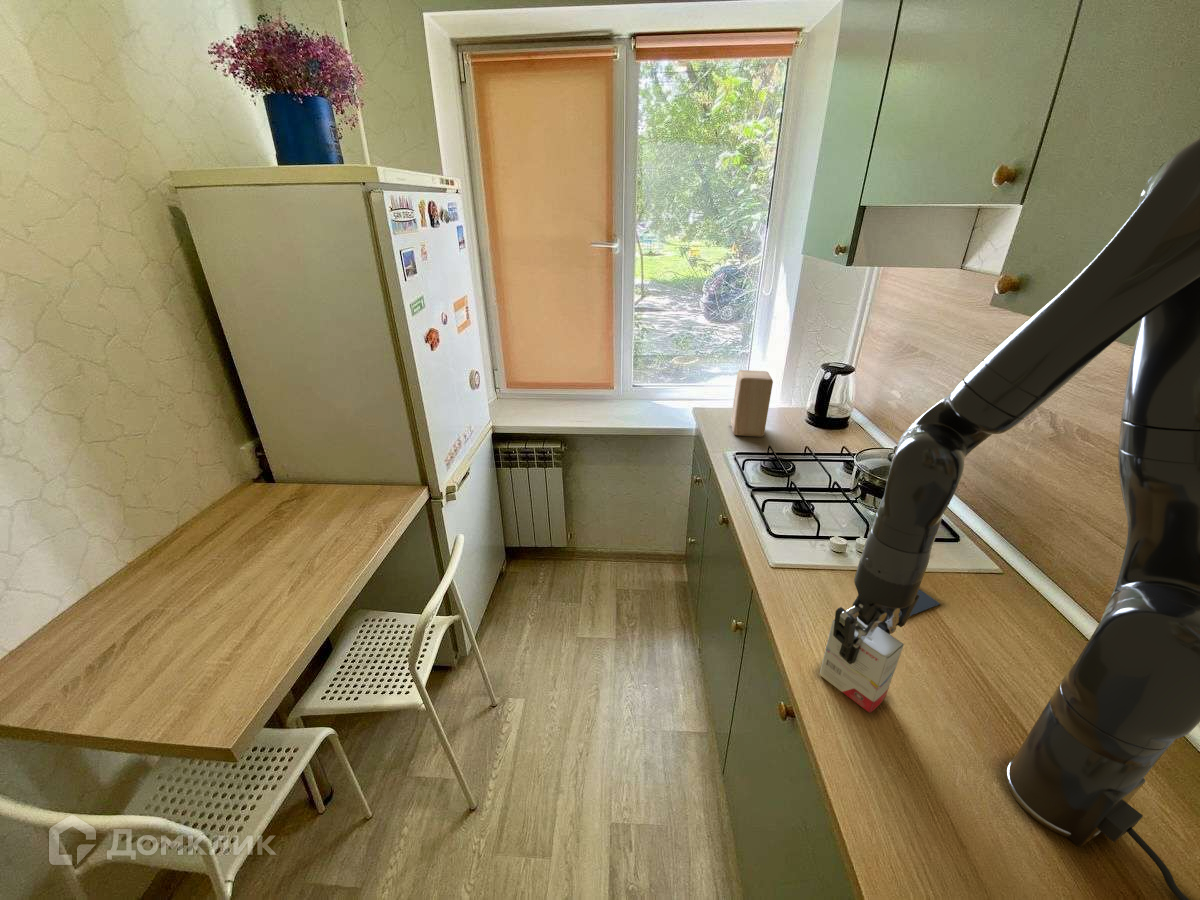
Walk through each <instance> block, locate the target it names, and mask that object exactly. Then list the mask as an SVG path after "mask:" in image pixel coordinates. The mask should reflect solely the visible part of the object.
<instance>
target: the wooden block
mask: <svg viewBox="0 0 1200 900" xmlns="http://www.w3.org/2000/svg"><path fill="white" fill-rule="evenodd" d="M773 383H774V380H773V378H772V376H771V375H770V373H769V371H766V370H751V369H749V370H748V369H740V370H738V371H737V373H736V381H735V388H734V389H735V390H734V397H733V403H732V410H731V411H732V412H731V418H730V424H731V429H732V433H733V435H735V436H743V437H758V438H759V437H760V438H761V437H764V435H765V431H766V425H767V420H768V414H769V409H770V408H769V407H770V403H771V402H770V401H771V396H772V389H773Z"/></svg>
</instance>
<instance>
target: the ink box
mask: <svg viewBox="0 0 1200 900" xmlns="http://www.w3.org/2000/svg"><path fill="white" fill-rule="evenodd" d="M857 620H858V621H859V622H860V623H861V624H862V625H863V626H864V627H866V628H867V625H865V624H864V623H863V622H862V621H861V620H860V619H859V618H858V617H857ZM834 623H835V619H833V620H832V621H831V626H830V629H829V633H828V634H829V635H828V638H827V641H826V646H825V651H824V654H823V658H822V663H821V666H820V670H819V676H820V677H821V678H823V679H824V680H825V681H827V682H828V683H830V684H831V685H832V686H833V687H835V688H836V689H837V690H838V691H840V692H841V693H843V694H844V695H845V696H846V697H847V698H849V699H850V700H852V701H853V702H854V703H855V704H857V705H859V707H861V708H862V709H863V710H864V711H866V712H867V713H872V712H874V711H875V710H876V709H877V708H878V707H879V706H880V705H881V704H882V703H883V701H884V700H885V698H886V697H887V694H888V691H889V688H890V685H891V682H892V680H893V677H894V675H895V671H896V669H897V666H898V663H899V660H900V657H901V654H902V651H903V648H904V645H905V643H904V642H902V641H900V640H899V639H898V638H896V637H894V636H893V635H892V634H888V633H887V632H885V631H884V630H882V629H881V628H879V627H878V626H877V628H876V629H875V631H874V632H873V634H872V635H871V636H866V637H865V639H864V640H863V642H862V643H861V645H860V649H859V652H858V655H857V658H856V661H855V663H852V664H849V663H848V662H846V661H845V660H844V659H843V658H842V657H841V656H840V654H839V652H840V649H841V645H842V643H841V642H839V641H838V640H837V639H836V638H835V637H834V636H833V632H834ZM858 634H859V632H858V631H857V630H856V629H855V633H854V636H855V637H857V636H858Z"/></svg>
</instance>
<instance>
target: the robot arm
mask: <svg viewBox="0 0 1200 900" xmlns="http://www.w3.org/2000/svg"><path fill="white" fill-rule="evenodd" d="M1137 323H1139V326H1138V329H1137V333H1136V337H1135V342H1134V346H1133V349H1132V354H1131V357H1130V362H1129V368H1128V373H1127V377H1126V383H1125V388H1124V389H1125V390H1124V397H1123V403H1122V409H1121V416H1120V428H1119V437H1118V447H1117V449H1118V451H1117V452H1118V453H1117V454H1118V455H1117V457H1118V460H1117V462H1118V476H1119V483H1120V484H1119V485H1120V490H1121V497H1122V500H1123V506H1124V509H1125V514H1126V521H1127V522H1126V523H1127V536H1126V544H1125V549H1124V555H1123V557H1122V562H1121V567H1120V569H1119V573H1118V577H1117V580H1116V583H1115V586H1114V588H1113V591H1112V592H1111V594H1110V596H1109V599H1108V601H1107V603H1106V606H1105V609H1104V611H1103V614H1102V616H1101V619H1100V621H1099V623H1098V625H1097V627H1096V628H1095V630H1094V631H1093V632H1092V635H1091V636H1090V638H1089V640H1088V641H1087V643H1086V645H1085V646H1084V648H1083V649H1082V651H1081V653H1080V654H1079V655H1078V658H1077V659H1076V660H1075V662H1074V663H1073V664H1071V665H1070V666H1069V667H1068V669H1067V671H1066V672H1065V674H1064V676H1063V677H1062V679H1061V681H1060V682H1059V684H1058V686H1057V688H1056V689H1055V691H1054V692H1053V694H1052V696H1051V697H1050V699H1049V700H1048V702H1047V703H1046V705H1045V707H1044V709H1043V710H1042V711H1041V713H1040V715H1039V716H1038V718H1037V720H1036V722H1035V723H1034V725H1033V726H1032V728H1031V730H1030V731H1029V732H1028V734H1027V736H1026V738H1025V739H1024V741H1023V742H1022V744H1021V745H1020V748H1019V749H1018V751H1017V752H1016V754H1015V756H1013V758H1012V759H1011V761H1010V762H1009V763H1008V765H1007V767H1006V768H1005V773H1004V777H1005V778H1004V779H1005V782H1006V785H1007V788H1008V790H1009V792H1010V794H1011V795H1012V796H1013V798H1014V799H1015V801H1016V802H1017V804H1018V805H1019V806H1020V807H1021V808H1022V809H1023V810H1024V811H1025V812H1026V813H1027V814H1028V815H1029V816H1030V817H1032V818H1033V819H1034V820H1035V821H1036V822H1038V823H1039V824H1041V825H1042V826H1044V827H1045V828H1047V829H1048V830H1050V831H1051V832H1054V833H1056V834H1058V835H1060V836H1063V837H1065V838H1067V839H1068V840H1070V841H1071V842H1072V843H1074V844H1075V845H1076V847H1079V848H1082V847H1083V846H1084V845H1086V844H1087V843H1088V842H1090V841H1091V840H1095V838H1097V837H1098V836H1099V835H1100V833H1102V834H1103V835H1104V836H1106V837H1107V838H1108V839H1109V840H1110V841H1112V842H1113V843H1115V842H1116V841H1118V840H1119V839H1120V838H1121V837H1123V836H1124V835H1125V834H1128V835H1129V836H1130V837H1131V838H1132V839H1133V840H1134V842H1135V843H1137V845H1139V847H1140V848H1141V849H1142V850H1143V852H1145V853H1146V854H1147V856H1149V857H1150V859H1151V860H1152V861H1153V863H1154V864H1155V865H1156V866H1157V868H1158V869H1159V871H1160V873H1161V875H1162V877H1163V880H1164V881H1165V884H1166V885H1167V887H1168V888H1169V889H1170V891H1171V892H1172V894H1174V895H1175V897H1176V898H1177V899H1179V900H1190V899H1189V898H1188V897H1187V896H1186V895H1185V894H1184V893H1183V892H1182V891H1181V889H1179V887H1178V885H1177V883H1176V882H1175V879H1174V877H1173V874H1172V872H1171V871H1170V869H1169V868H1168V867H1167V865H1166V864H1165V862H1164V861H1163V860H1162V858H1160V857H1159V855H1158V854H1157V853H1156V852H1155V851H1154V849H1152V848H1151V846H1149V844H1148V843H1147V842H1146V841H1145V840H1144V839H1143V838H1142V837H1141V836H1140V835H1139V833H1137V832H1136V831H1135V830H1134V829H1133V828H1134V827H1136V826H1137V824H1138V823H1139V821H1141V819H1142V818H1143V817H1144V815H1143V814H1141V812H1139V811H1138V810H1137V809H1135V808H1134V807H1133V806H1132V805H1130V804H1129V802H1130V801H1131V800H1132V798H1133V797H1135V795H1136V794H1137V792H1138V791H1139V790H1140V789H1141V788H1142V786H1143V785H1144V784H1145V783H1146V778H1145V777H1146V776H1147V774H1148V773H1149V772H1150V771H1151V769H1152V768H1153V767H1154V766H1155V765H1156V763H1157V762H1158V761H1159V760H1160V759H1161V757H1162V756H1163V755H1164V754H1165V752H1166V751H1167V750H1168V749H1169V748H1170V747H1171V746H1172V744H1173V743H1174V742H1175V741H1176V739H1180V738H1184V737H1185V736H1187V735H1188V734H1191V732H1192V731H1193V730H1194V729H1195V728H1196V727H1197V726H1198V725H1199V723H1200V136H1198V137H1196V138H1195V139H1194V140H1192V141H1190V142H1189V143H1187V144H1186V145H1184V146H1183V147H1181V148H1180V149H1178V150H1177V151H1176V152H1175V153H1174V154H1172V155H1171V156H1170V157H1169V158H1167V160H1165V161H1164V162H1163V163H1162V164H1161V165H1160V166H1159V167H1158V168H1157V169H1156V170H1155V171H1154V172H1153V173H1152V175H1151V176H1150V177H1149V179H1148V180H1147V182H1146V183H1145V185H1144V186H1143V189H1142V191H1141V193H1140V195H1139V199H1138V204H1137V206H1136V208H1135V209H1134V211H1132V212H1131V214H1130V215H1129V217H1128V218H1127V219H1126V221H1124V223H1123V224H1122V226H1121V227H1119V229H1118V230H1117V232H1116V233H1115V234H1114V235H1113V237H1112V238H1111V239H1110V240H1109V241H1108V243H1106V245H1105V246H1104V247H1103V248H1102V250H1101V251H1100V252H1099V253H1098V254H1097V255H1096V256H1095V257H1094V258H1093V259H1092V260H1091V261H1090V262H1089V263H1088V265H1086V266H1085V267H1084V268H1083V269H1082V271H1080V272H1079V273H1078V274H1077V276H1076V277H1074V278H1073V279H1072V280H1071V281H1070V282H1069V283H1068V284H1067V285H1066V286H1065V287H1064V288H1062V289H1061V291H1059V292H1058V293H1057V294H1056V295H1055V296H1053V297H1052V299H1050V300H1049V301H1048V302H1047V303H1045V305H1043V306H1042V307H1041V308H1040V309H1038V310H1037V311H1036V312H1034V314H1033V315H1031V316H1030V317H1029V318H1028V319H1026V320H1025V321H1024V322H1023V323H1022V324H1021V325H1019V326H1018V327H1017V328H1016V329H1014V330H1013V331H1012V332H1011V333H1010V334H1008V335H1007V337H1005V338H1004V339H1003V340H1002V341H1001V342H999V344H998V345H996V346H995V348H993V349H992V350H991V351H990V352H989V353H988V354H987V355H986V356H984V358H983V359H982V360H981V361H980V362H979V363H977V365H976V366H974V368H973V369H972V370H971V371H970V372H969V373H967V375H965V376H964V378H962V379H961V380H960V381H959V383H957V385H955V387H954V388H953V389H952V391H951V392H949V394H947V395H946V396H945V397H943V398H942V399H940V400H939V401H937V402H936V404H934V405H933V406H932V407H930V408H929V409H928V410H926V411H925V412H924V413H922V415H920V416H919V417H918V418H917V419H916V420H915V421H913V422H912V423H911V425H909V427H907V428H906V430H905V431H904V432H903V433H902V434H901V436H900V438H899V439H898V442H897V445H896V448H895V450H894V452H893V456H892V459H891V462H890V467H889V471H888V474H887V479H886V484H885V488H884V493H883V496H882V498H881V500H880V503H879V504H878V508H877V510H876V512H875V516H874V520H873V523H872V526H871V528H870V531H869V533H868V536H867V538H866V539H865V543H864V545H863V548H862V552H861V555H860V559H859V562H858V565H857V568H856V571H855V575H854V580H853V581H854V582H853V583H854V586H855V589H856V591H857V596H856V598H855V599H854V601H853V603H852V607H850V608H848V609H846V610H845V608H843V607H842V606H840V607H838V608H837V609H836V610H835V613H834V614H835V615H834V616H835V617H834V620H835V623H834V632H833V636H834V637H835V638H836V639H837V640H838V641H839V642H841V643H842V645H841V649H840V652H839V654H840V656H841V657H842V658H843V659H844V660H845V661H846V662H848V663H849V664H852V663H855V661H856V658H857V655H858V652H859V649H860V645H861V643H862V642H863V640H864V639H865V637H866V636H871V635H872V634H873V632H874V631H875V629H876V628H877V626H878V627H879V628H881V629H882V630H884V631H885V632H887V633H888V634H890V635H892V634H893V633H895V632H896V630H897V627H900V628H903V627H904V626H905V625H906V623H907V621H908V619H909V617H911V616H910V614H911V612H912V610H913V608H914V606H915V604H916V602H917V600H918V598H919V595H918V594H917V592H918V589H920V587H921V585H922V581H923V578H924V576H925V573H926V572H927V569H928V567H929V566H928V565H929V563H930V558H931V552H932V548H933V547H934V543H935V540H936V538H937V535H938V533H939V530H940V527H941V523H942V519H943V515H944V514H945V512H946V511H947V508H948V507H949V504H950V503H951V501H952V499H953V497H954V496H955V493H956V491H957V489H958V486H959V484H960V482H961V480H962V479H961V478H962V476H963V473H964V468H965V458H966V457H967V456H968V455H969V454H970V453H971V452H972V451H973V450H974V449H976V448H977V447H978V446H979V445H981V444H982V443H983V442H984V441H986V440H987V439H988V438H989V437H991V436H992V435H1001V434H1004V433H1006V432H1008V431H1010V430H1011V429H1013V428H1014V427H1016V426H1017V425H1019V424H1020V423H1021V422H1023V420H1024V419H1026V418H1027V417H1028V416H1029V415H1030V414H1032V413H1033V412H1034V411H1035V410H1036V409H1038V408H1040V406H1042V405H1043V404H1044V403H1045V402H1046V401H1048V400H1049V399H1050V398H1051V397H1052V396H1053V395H1054V394H1056V393H1057V392H1058V391H1059V390H1060V389H1061V388H1062V387H1064V386H1065V385H1066V384H1067V383H1068V382H1070V381H1071V380H1072V379H1073V378H1074V377H1075V376H1077V375H1078V374H1079V373H1080V372H1082V370H1083V369H1085V368H1086V367H1087V366H1088V365H1089V364H1090V363H1091V362H1093V360H1095V359H1096V358H1097V357H1098V356H1099V355H1100V354H1101V353H1103V352H1104V351H1105V350H1106V349H1107V348H1108V347H1110V346H1111V345H1112V344H1113V343H1114V342H1115V341H1117V340H1118V339H1119V338H1120V337H1122V335H1124V334H1125V333H1126V332H1127V331H1129V330H1130V329H1131V328H1133V327H1134V326H1135V325H1136V324H1137ZM900 611H901V612H902V615H901V617H900V616H899V613H900ZM857 617H858V618H859V619H860V620H861V621H862V622H863V623H864V624H865V625H867V628H866V627H864V626H863V625H862V624H861V623H860V622H859V621H858V620H857ZM855 629H856V630H857V631H858V632H859V634H858V636H857V637H855V636H854V633H855Z"/></svg>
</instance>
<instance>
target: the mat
mask: <svg viewBox="0 0 1200 900" xmlns="http://www.w3.org/2000/svg"><path fill="white" fill-rule="evenodd" d="M917 594H918V595H919V598H918V600H917V602H916V604H915V606H914V608H913V610H912V612H911V614H910V616H909V617H911V616H914V615H917V614H919V613H922V612H926V611H927V610H930V609H932V608H935V607H937V606H940V605H941V603H940V602H938V601H937V600H936V599H935V598H933V597H932V596H930V595H928V594H927V593H926V592H924V591H923V590H921V589H920V588H919V589H918V592H917ZM901 615H902V612H901V611H900V613H899V616H900V617H901Z"/></svg>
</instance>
